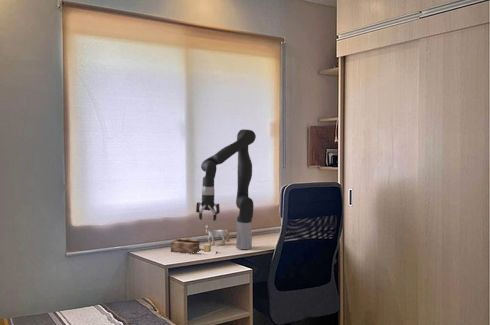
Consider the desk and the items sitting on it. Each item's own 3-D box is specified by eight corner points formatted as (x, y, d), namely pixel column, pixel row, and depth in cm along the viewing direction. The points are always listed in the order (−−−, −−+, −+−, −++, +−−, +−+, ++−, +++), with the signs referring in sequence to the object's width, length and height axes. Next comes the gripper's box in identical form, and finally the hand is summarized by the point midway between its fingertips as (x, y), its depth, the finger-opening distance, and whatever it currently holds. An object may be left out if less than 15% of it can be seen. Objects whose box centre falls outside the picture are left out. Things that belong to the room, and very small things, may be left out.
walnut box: (199, 249, 310) (199, 239, 310) (192, 254, 299) (192, 244, 298) (178, 247, 314) (178, 237, 313) (170, 251, 302) (170, 242, 302)
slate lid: (218, 252, 305) (219, 243, 305) (214, 256, 297) (214, 246, 297) (200, 250, 309) (201, 241, 308) (195, 253, 301) (195, 244, 301)
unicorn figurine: (198, 245, 320) (199, 224, 319) (225, 242, 330) (226, 222, 329) (203, 247, 314) (203, 227, 313) (230, 244, 324) (231, 224, 323)
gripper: (221, 193, 301) (220, 219, 303) (199, 192, 305) (198, 218, 306) (217, 195, 294) (216, 222, 296) (194, 193, 298) (194, 220, 299)
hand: (207, 220), depth 301 cm, fingers open, 8 cm apart
